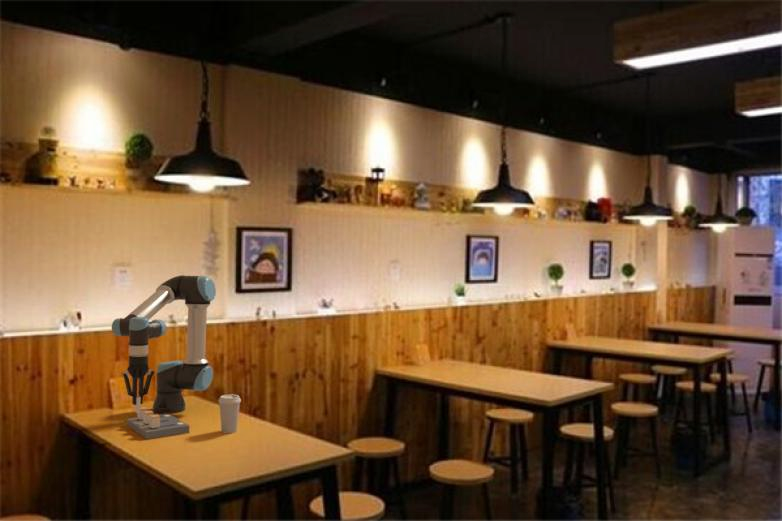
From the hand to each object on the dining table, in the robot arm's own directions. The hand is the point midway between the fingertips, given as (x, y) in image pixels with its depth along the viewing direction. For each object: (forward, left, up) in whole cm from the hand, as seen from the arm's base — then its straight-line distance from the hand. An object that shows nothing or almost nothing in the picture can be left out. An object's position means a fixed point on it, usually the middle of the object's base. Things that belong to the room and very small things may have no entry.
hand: (137, 412), depth 283 cm
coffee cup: (-35, +12, -11) cm, 39 cm away
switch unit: (-11, -8, -11) cm, 17 cm away
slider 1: (-7, -16, -7) cm, 19 cm away
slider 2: (-7, 0, -7) cm, 10 cm away
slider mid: (-7, -8, -7) cm, 13 cm away
